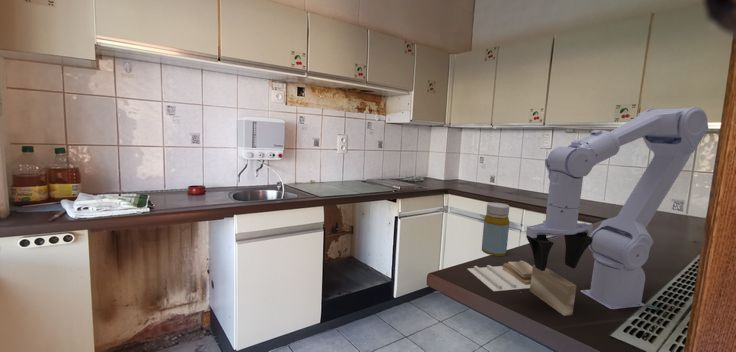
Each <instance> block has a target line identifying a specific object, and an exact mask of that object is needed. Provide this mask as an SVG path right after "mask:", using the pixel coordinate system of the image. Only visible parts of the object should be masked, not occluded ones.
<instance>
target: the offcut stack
mask: <svg viewBox="0 0 736 352" xmlns="http://www.w3.org/2000/svg"><path fill="white" fill-rule="evenodd" d="M502 266H503V267H502V269H503V270H505V271H506V272H508V273H509V274H511V275H512V276H513V277H515V278H516V279H518V280H519V281H521V282H522V283H523V284H525V285H529V284H531V277H532V268H533V265H531V264H530V263H529V262H527V261H524V262H519V261H508V262H505V263H503V264H502Z"/></svg>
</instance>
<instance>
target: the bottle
mask: <svg viewBox="0 0 736 352" xmlns="http://www.w3.org/2000/svg"><path fill="white" fill-rule="evenodd" d="M509 213H510V205H509V204H507V203H503V202H502V203H501V202H488V203H487V204H486V213H485V215H484V219H483V228H482V230H483V231H482V240H481V251H482V252H483V253H485V254H486V255H489V256H494V257H503V256H506V255H507V250H508V249H507V248H508V240H509V229H510V218H509Z"/></svg>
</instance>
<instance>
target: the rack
mask: <svg viewBox="0 0 736 352" xmlns="http://www.w3.org/2000/svg"><path fill="white" fill-rule="evenodd" d="M518 262H525V261H524V260H519V261H518ZM502 267H503V265H499V266H492V265H490V264H487V265H486V266H485V267H479V266H477V265H475V266H473V267H471V268H470V267H469V268H467V270H468V272H470V273H471V274H472V275H474V276H475V277H476V279H478V280H479V281H481V282H482V283H483V284H484V285H485V286H487V287H488V289H490V290H491V291H493V292H501V291H502V292H503V291H511V290H523V289H530V285H531V284H529V285H525V284H523V283H522V282H521V281H519V280H518V279H516V278H515V277H513V276H512V275H511V274H509V273H508V272H506V271H505V270H503V269H502Z"/></svg>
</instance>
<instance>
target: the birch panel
mask: <svg viewBox="0 0 736 352" xmlns="http://www.w3.org/2000/svg"><path fill="white" fill-rule="evenodd" d="M532 267H533V268H532V277H531V285H530V288H529V292H530V293H532V294H533V295H534V296H536V297H538V299H540V300H541V301H543V302H544V303H545V304H547V305H548V306H549V307H551V308H553V309H554V310H555V311H556V312H558V313H559V314H560V315H562V316H573V314H574V313H573V312H574V305H575V298H576V292H577V285H576V284H575V283H573V282H571V281H570V280H569V279H566V278H564V277H563V276H560V275H559V274H557V273H556V272H554V271H552V270H551V269H548V268H547V267H546V269H545V271H541V270H539V269H537V268H536V267H535V264H532Z"/></svg>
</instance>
